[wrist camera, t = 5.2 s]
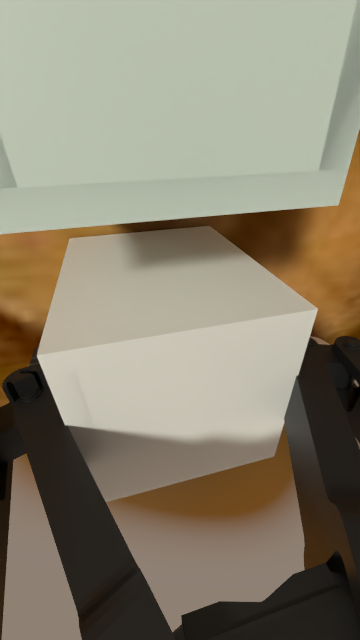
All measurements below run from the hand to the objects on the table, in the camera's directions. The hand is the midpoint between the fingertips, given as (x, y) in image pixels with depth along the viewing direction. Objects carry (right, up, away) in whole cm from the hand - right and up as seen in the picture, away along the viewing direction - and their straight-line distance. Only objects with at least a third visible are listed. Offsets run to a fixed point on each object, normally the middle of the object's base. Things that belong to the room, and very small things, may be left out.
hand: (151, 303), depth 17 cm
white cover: (0, +1, +1) cm, 1 cm away
